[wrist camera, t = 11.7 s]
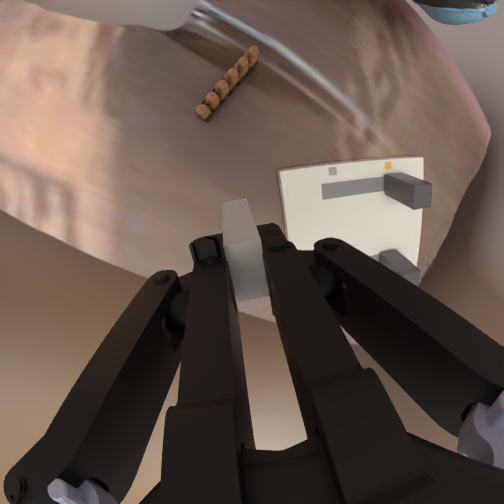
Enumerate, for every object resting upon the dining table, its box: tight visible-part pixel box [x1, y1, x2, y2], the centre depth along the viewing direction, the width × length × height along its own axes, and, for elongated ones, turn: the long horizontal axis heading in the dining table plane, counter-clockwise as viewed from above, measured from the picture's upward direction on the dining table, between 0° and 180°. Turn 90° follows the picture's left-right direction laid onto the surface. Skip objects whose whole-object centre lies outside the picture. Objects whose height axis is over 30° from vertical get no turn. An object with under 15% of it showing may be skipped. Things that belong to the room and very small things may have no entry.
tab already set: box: [380, 249, 421, 287], centre depth 43 cm, size 4×4×8 cm
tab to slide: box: [385, 172, 432, 210], centre depth 36 cm, size 4×4×8 cm
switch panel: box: [277, 155, 423, 266], centre depth 44 cm, size 26×22×2 cm
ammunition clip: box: [195, 46, 259, 122], centre depth 29 cm, size 11×2×12 cm, turn 141°
